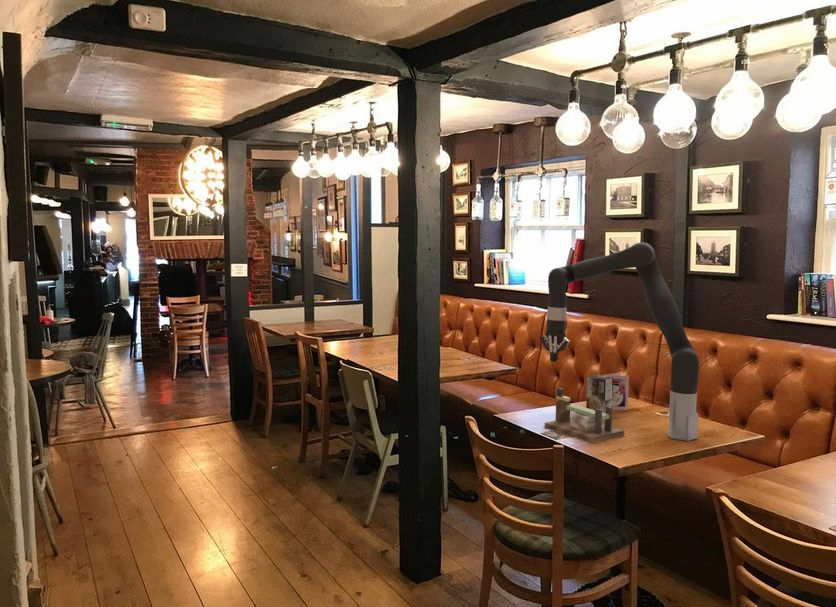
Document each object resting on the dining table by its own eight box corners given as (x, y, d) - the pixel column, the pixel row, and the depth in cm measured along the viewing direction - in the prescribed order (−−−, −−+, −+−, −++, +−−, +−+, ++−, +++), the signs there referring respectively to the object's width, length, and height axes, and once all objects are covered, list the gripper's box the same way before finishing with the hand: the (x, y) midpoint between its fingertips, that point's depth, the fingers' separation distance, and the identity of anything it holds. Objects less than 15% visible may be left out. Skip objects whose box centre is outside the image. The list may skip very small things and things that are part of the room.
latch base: (624, 435, 248) (625, 406, 247) (594, 443, 238) (595, 413, 237) (574, 421, 267) (575, 394, 266) (544, 427, 257) (545, 399, 256)
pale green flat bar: (609, 418, 245) (609, 414, 245) (602, 420, 242) (602, 416, 242) (573, 408, 258) (573, 404, 258) (566, 409, 256) (566, 405, 256)
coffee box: (612, 415, 276) (614, 377, 275) (604, 418, 272) (606, 379, 270) (593, 411, 283) (594, 374, 281) (585, 413, 279) (586, 376, 277)
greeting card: (601, 409, 285) (602, 375, 284) (597, 405, 293) (598, 372, 291) (628, 410, 285) (629, 376, 283) (623, 406, 292) (625, 372, 291)
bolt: (570, 400, 259) (570, 390, 258) (566, 401, 257) (566, 390, 257) (559, 397, 263) (559, 387, 263) (555, 398, 262) (555, 388, 261)
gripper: (536, 317, 263) (534, 360, 265) (566, 321, 254) (563, 365, 256) (547, 315, 268) (544, 358, 270) (576, 319, 260) (573, 363, 261)
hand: (553, 361), depth 263 cm, fingers closed
